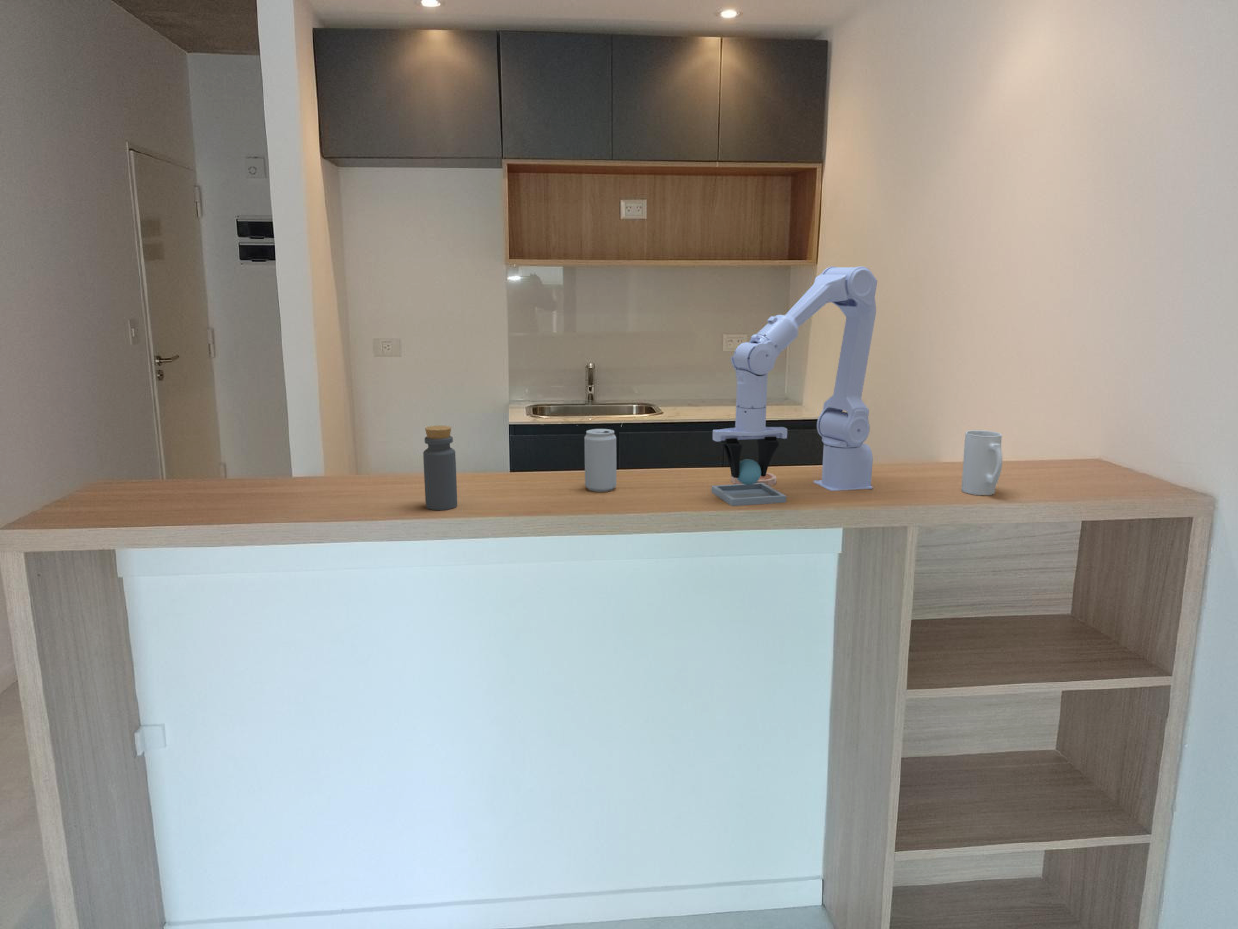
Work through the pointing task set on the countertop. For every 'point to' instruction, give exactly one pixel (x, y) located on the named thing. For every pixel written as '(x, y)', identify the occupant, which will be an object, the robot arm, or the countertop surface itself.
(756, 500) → the tray
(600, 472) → the beverage can
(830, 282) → the robot arm
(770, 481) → the dish
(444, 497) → the bottle
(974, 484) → the mug
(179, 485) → the countertop surface
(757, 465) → the ball
